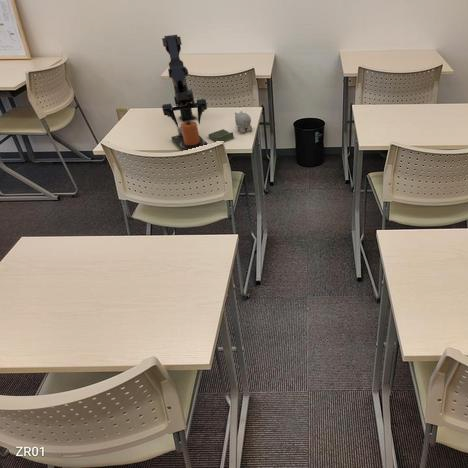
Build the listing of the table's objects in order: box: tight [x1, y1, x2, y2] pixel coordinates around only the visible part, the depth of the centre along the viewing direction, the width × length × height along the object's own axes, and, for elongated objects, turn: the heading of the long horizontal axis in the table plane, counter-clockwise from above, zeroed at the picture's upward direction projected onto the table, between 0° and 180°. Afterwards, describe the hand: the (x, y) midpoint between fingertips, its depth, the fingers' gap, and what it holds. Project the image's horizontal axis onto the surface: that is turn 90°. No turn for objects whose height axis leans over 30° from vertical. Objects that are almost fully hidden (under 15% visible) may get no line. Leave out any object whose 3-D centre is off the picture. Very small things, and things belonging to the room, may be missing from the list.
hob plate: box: [180, 137, 206, 149], centre depth 212 cm, size 11×11×1 cm
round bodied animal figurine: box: [234, 111, 253, 134], centre depth 225 cm, size 7×12×8 cm, turn 25°
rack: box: [207, 128, 235, 143], centre depth 219 cm, size 9×8×3 cm
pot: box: [180, 120, 200, 145], centre depth 209 cm, size 7×7×9 cm
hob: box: [171, 134, 209, 152], centre depth 215 cm, size 20×11×2 cm, turn 32°
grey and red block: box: [176, 126, 183, 136], centre depth 218 cm, size 5×2×4 cm, turn 86°
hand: (188, 125), depth 209 cm, fingers open, 9 cm apart
